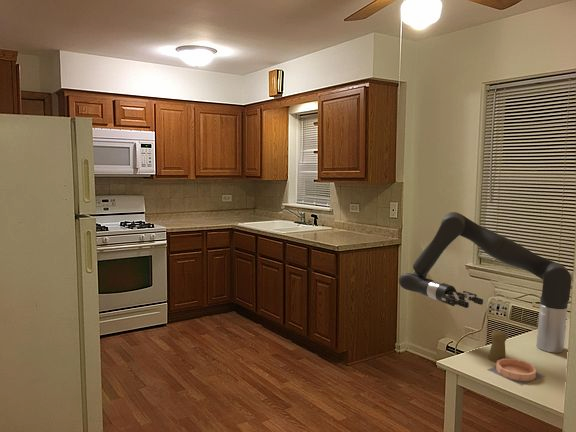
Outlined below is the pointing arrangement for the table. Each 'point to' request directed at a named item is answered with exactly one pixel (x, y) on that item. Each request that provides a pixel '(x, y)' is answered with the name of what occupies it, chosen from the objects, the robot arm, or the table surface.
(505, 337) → the pepper mill
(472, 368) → the table surface
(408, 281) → the robot arm
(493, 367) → the mat
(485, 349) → the table surface
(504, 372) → the bowl
